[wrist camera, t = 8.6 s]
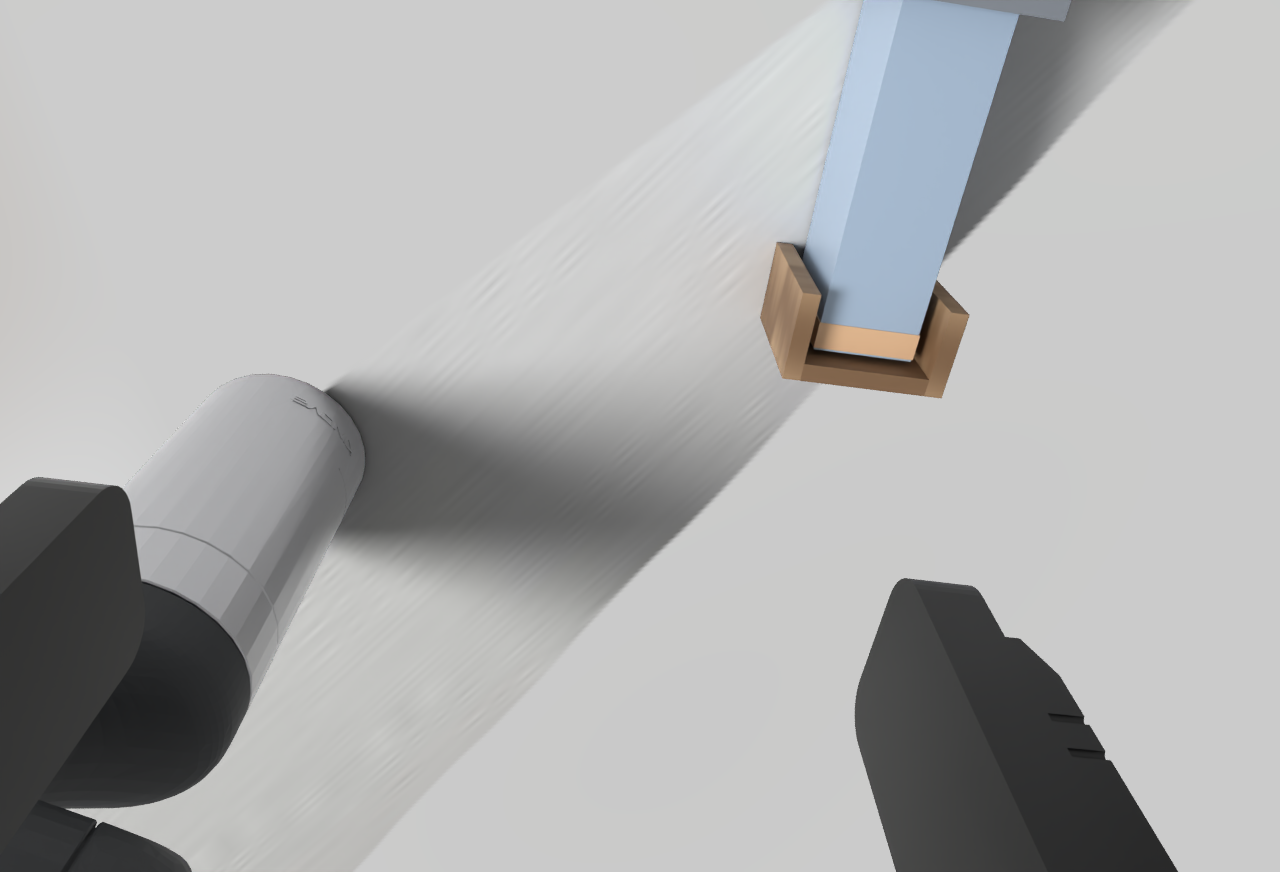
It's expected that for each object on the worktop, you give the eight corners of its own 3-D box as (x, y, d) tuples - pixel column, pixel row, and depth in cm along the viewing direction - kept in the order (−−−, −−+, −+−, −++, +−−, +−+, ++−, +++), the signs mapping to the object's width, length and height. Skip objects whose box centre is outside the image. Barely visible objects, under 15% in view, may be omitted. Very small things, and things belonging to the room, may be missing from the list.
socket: (897, 335, 47) (941, 398, 40) (760, 317, 46) (782, 378, 40) (919, 261, 45) (969, 315, 38) (776, 241, 44) (803, 292, 38)
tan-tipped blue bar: (878, 314, 46) (911, 362, 40) (791, 302, 45) (813, 349, 40) (978, -35, 38) (1035, -33, 33) (874, -53, 38) (915, -53, 33)
